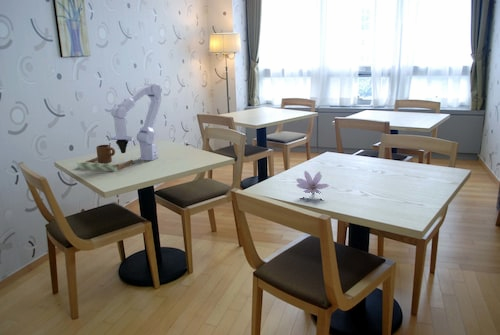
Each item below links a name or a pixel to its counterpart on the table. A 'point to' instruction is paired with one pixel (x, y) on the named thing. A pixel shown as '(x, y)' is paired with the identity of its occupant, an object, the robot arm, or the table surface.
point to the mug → (105, 153)
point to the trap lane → (102, 165)
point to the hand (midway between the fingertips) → (123, 152)
